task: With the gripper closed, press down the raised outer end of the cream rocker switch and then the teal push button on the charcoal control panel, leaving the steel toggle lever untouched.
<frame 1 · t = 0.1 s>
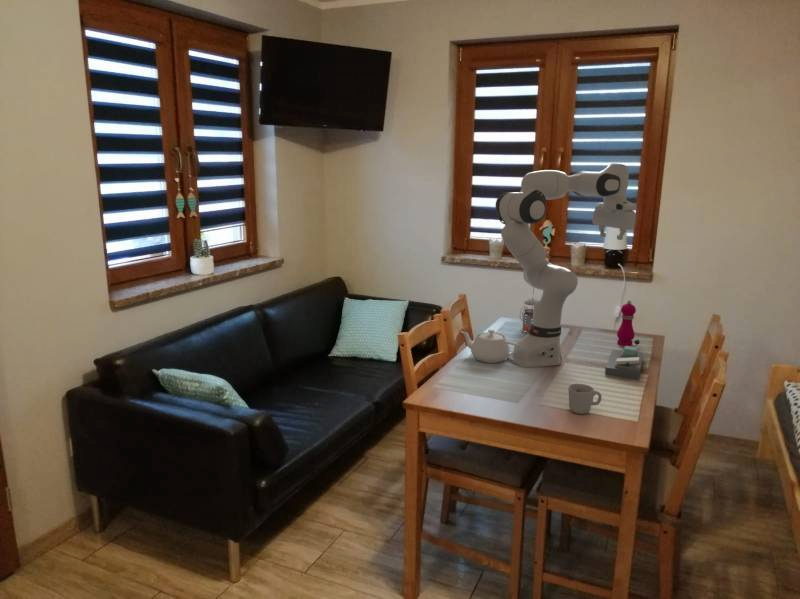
hand: (611, 238, 246), 48 cm above the table, tool pointing down, fingers open, 8 cm apart
toggle lever: (635, 344, 239), point 8 cm above the table, hinge at 20.0°
cup: (583, 411, 194), on the table
rocker switch: (628, 361, 226), point 5 cm above the table, hinge at -12.0°
control panel: (624, 367, 235), on the table
pepper mill: (624, 344, 264), on the table
french press: (529, 331, 282), on the table
teapot: (487, 359, 243), on the table
push button: (630, 351, 233), point 7 cm above the table, slide at 0.0 cm
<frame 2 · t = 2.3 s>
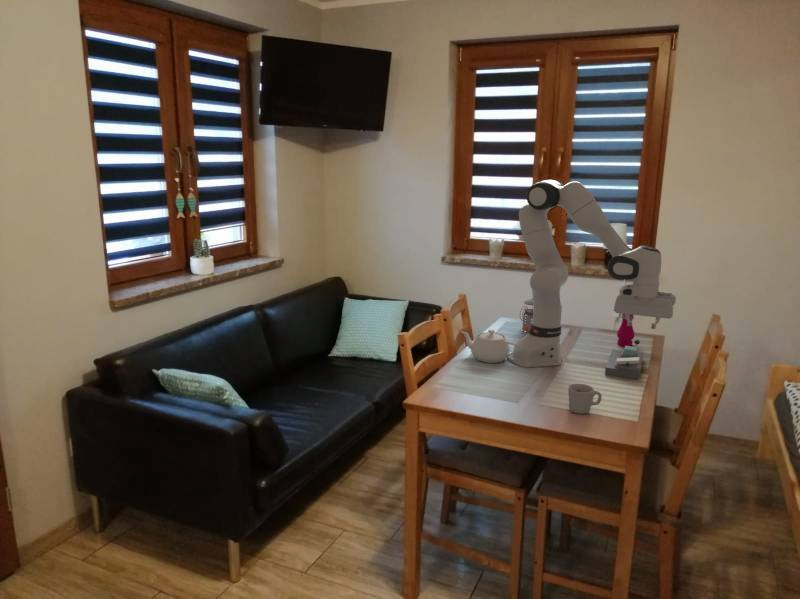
hand: (641, 327, 221), 19 cm above the table, tool pointing down, fingers open, 7 cm apart
nothing on the table moved.
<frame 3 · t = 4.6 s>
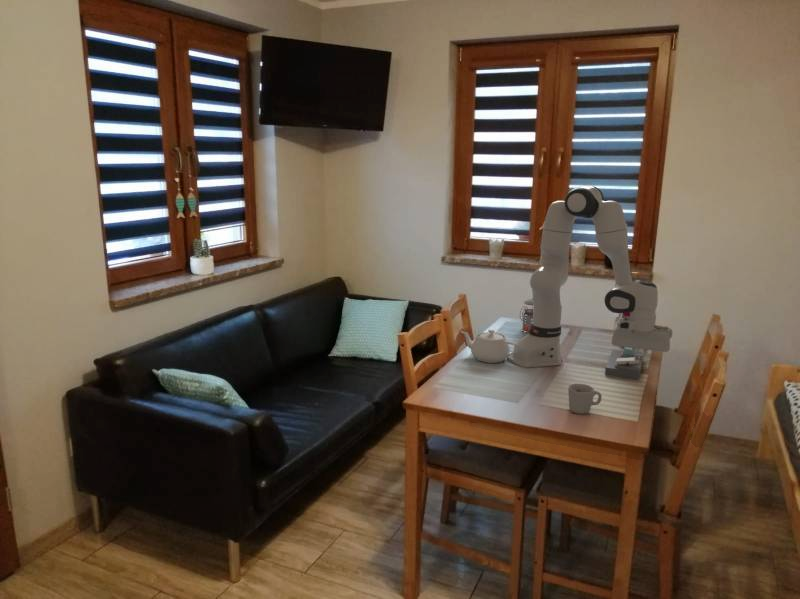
hand: (638, 359, 224), 7 cm above the table, tool pointing down, fingers closed
rocker switch: (628, 361, 226), point 5 cm above the table, hinge at -11.9°, touching gripper
everything else where it was.
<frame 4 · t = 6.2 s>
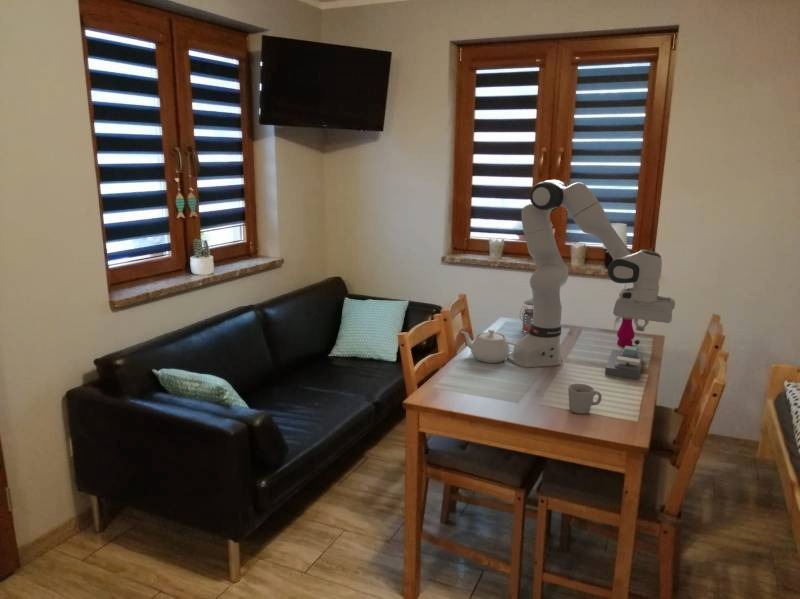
hand: (640, 330, 222), 18 cm above the table, tool pointing down, fingers closed
rocker switch: (628, 361, 226), point 5 cm above the table, hinge at 1.1°
everything else where it was.
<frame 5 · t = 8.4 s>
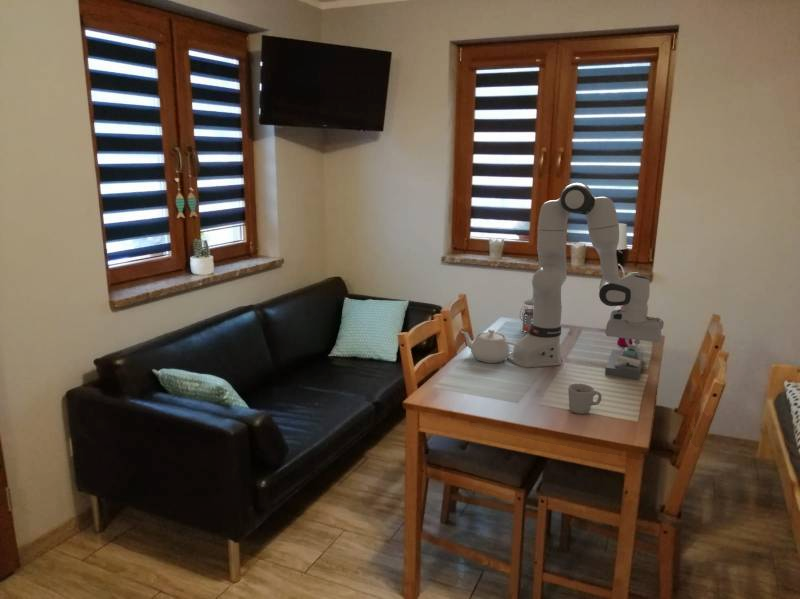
hand: (631, 349, 232), 8 cm above the table, tool pointing down, fingers closed, pressing on push button
rocker switch: (628, 361, 226), point 5 cm above the table, hinge at 6.9°
push button: (630, 353, 233), point 6 cm above the table, slide at 0.6 cm, touching gripper
everything else where it was.
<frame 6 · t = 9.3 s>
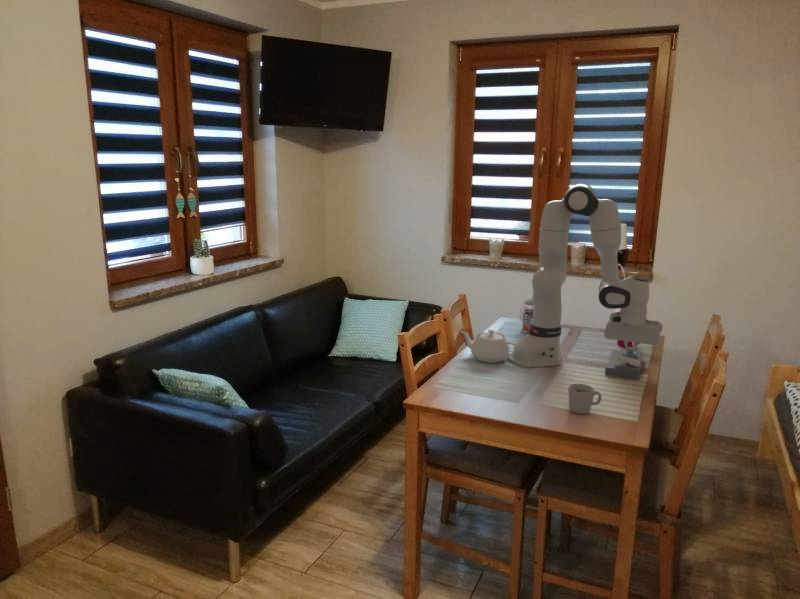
hand: (629, 352, 233), 7 cm above the table, tool pointing down, fingers closed
rocker switch: (628, 361, 226), point 5 cm above the table, hinge at 7.7°
push button: (629, 356, 233), point 5 cm above the table, slide at 1.9 cm
everything else where it was.
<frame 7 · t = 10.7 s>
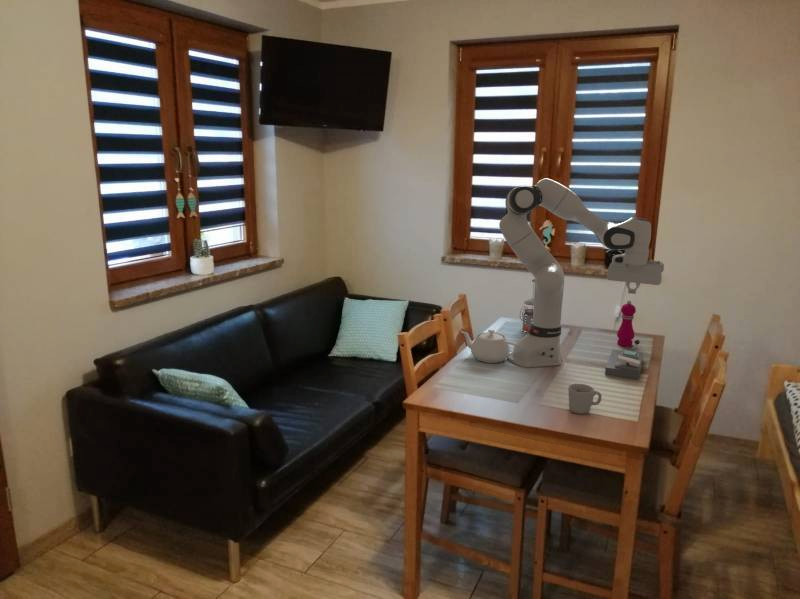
hand: (631, 293, 237), 28 cm above the table, tool pointing down, fingers closed
rocker switch: (628, 361, 226), point 5 cm above the table, hinge at 8.3°
everything else where it was.
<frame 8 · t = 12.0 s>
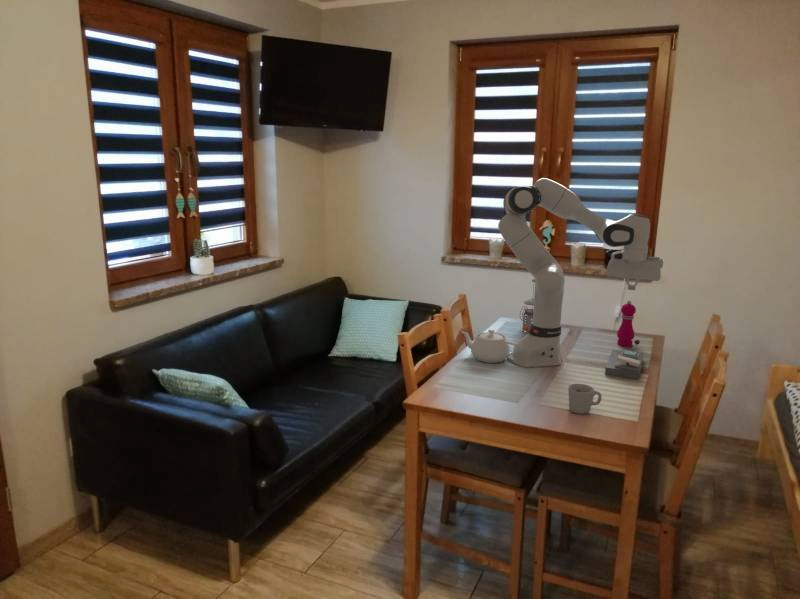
hand: (631, 289, 238), 29 cm above the table, tool pointing down, fingers closed
nothing on the table moved.
at the end: rocker switch at +8° (first picture: -12°); push button slide at 1.9 cm; toggle lever at +20° (first picture: +20°) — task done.
